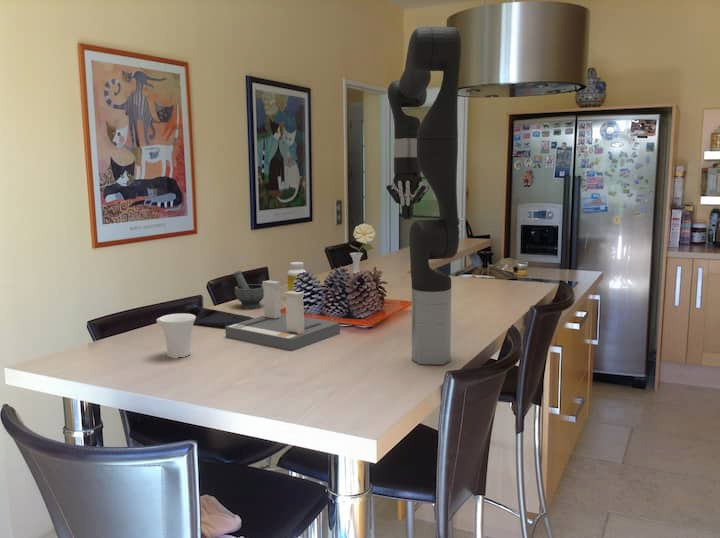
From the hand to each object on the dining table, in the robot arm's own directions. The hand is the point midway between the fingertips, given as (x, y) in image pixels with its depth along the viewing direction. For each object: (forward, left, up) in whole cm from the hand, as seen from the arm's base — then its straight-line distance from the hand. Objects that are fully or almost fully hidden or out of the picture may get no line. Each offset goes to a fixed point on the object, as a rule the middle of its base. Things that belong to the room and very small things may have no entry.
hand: (407, 219), depth 174 cm
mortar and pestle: (+25, +53, -31) cm, 66 cm away
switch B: (-2, +39, -28) cm, 48 cm away
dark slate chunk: (+5, +58, -32) cm, 66 cm away
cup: (-30, +56, -31) cm, 71 cm away
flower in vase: (+55, +19, -31) cm, 66 cm away
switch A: (-17, +29, -28) cm, 44 cm away
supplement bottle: (+38, +39, -31) cm, 63 cm away
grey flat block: (-10, +34, -31) cm, 47 cm away
